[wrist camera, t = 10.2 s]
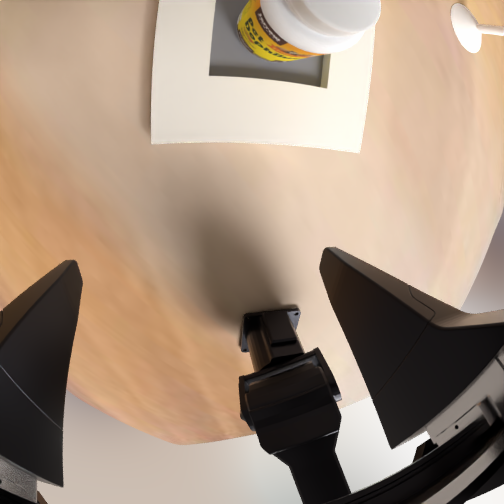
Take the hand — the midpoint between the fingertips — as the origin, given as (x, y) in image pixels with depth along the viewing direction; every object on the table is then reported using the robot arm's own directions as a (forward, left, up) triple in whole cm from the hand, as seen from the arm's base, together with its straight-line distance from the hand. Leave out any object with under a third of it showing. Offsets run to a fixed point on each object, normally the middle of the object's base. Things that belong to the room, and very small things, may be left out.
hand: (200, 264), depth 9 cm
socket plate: (+11, -5, -13) cm, 18 cm away
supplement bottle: (+11, -5, -13) cm, 18 cm away
